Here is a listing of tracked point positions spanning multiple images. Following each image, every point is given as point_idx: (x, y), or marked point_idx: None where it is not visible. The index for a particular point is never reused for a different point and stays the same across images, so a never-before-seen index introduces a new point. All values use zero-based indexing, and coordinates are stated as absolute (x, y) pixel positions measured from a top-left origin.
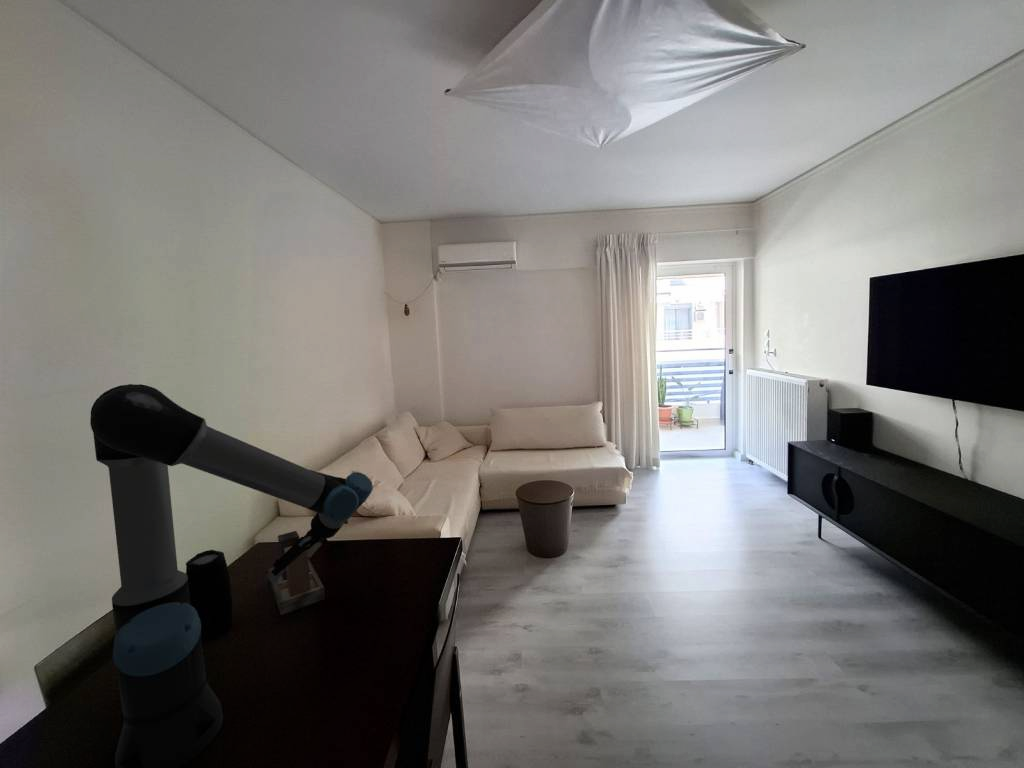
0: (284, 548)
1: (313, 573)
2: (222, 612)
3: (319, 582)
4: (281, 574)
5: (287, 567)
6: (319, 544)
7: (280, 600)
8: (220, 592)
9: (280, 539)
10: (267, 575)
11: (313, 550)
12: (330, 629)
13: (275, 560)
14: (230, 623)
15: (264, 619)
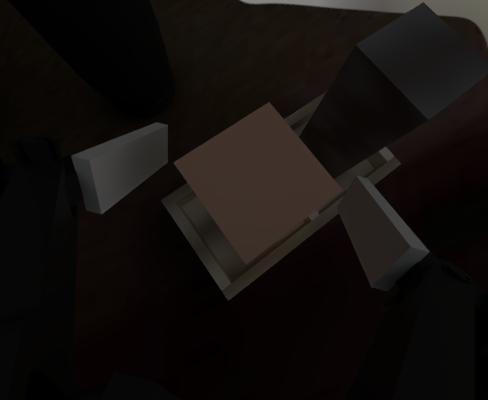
0: (266, 106)
1: (308, 227)
2: (91, 82)
3: (256, 272)
4: (136, 183)
5: (100, 213)
6: (372, 275)
7: (172, 196)
8: (33, 22)
9: (380, 34)
10: (153, 125)
11: (352, 230)
12: (89, 372)
13: (18, 138)
14: (148, 112)
15: (162, 175)
